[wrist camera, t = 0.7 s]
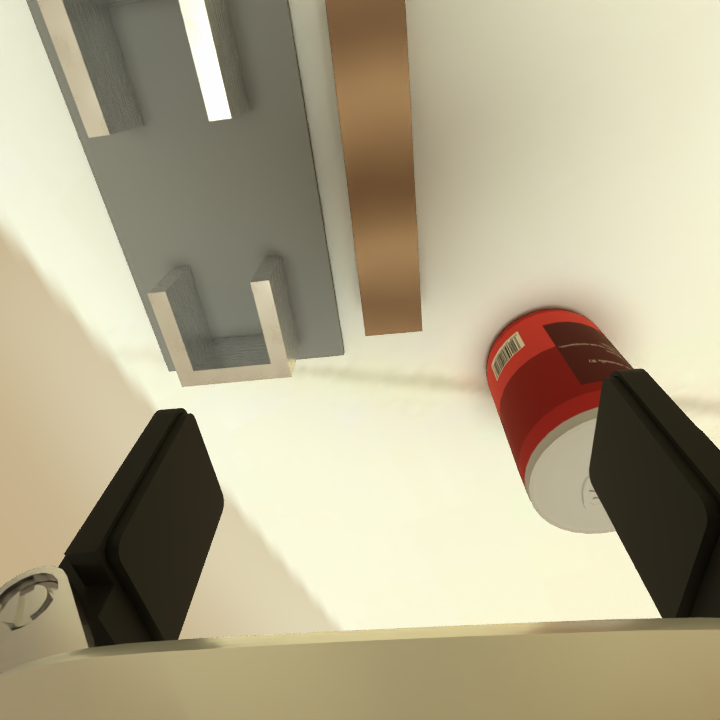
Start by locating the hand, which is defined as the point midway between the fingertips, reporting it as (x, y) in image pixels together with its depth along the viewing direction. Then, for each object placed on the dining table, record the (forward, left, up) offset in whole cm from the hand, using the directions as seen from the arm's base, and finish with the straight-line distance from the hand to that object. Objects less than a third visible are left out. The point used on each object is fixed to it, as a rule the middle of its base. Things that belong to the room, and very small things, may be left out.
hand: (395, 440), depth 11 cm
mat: (-2, -9, -19) cm, 22 cm away
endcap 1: (-9, -9, -19) cm, 23 cm away
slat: (-2, 0, -20) cm, 20 cm away
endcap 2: (+4, -9, -19) cm, 21 cm away
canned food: (+11, +10, -20) cm, 24 cm away
